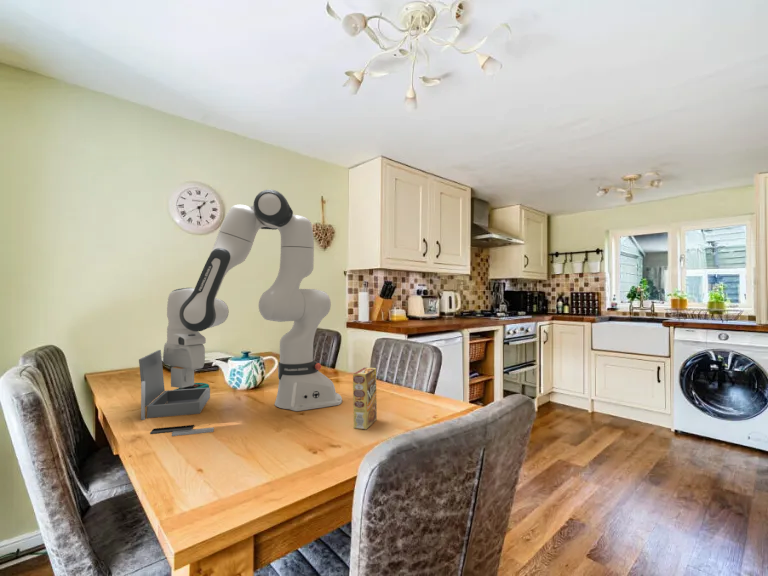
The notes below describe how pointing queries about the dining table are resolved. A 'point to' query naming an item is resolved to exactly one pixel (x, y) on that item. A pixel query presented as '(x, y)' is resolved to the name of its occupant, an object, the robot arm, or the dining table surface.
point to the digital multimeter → (195, 386)
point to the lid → (152, 376)
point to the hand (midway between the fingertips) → (182, 380)
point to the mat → (171, 429)
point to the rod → (192, 431)
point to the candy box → (364, 398)
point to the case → (175, 402)
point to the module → (179, 378)
